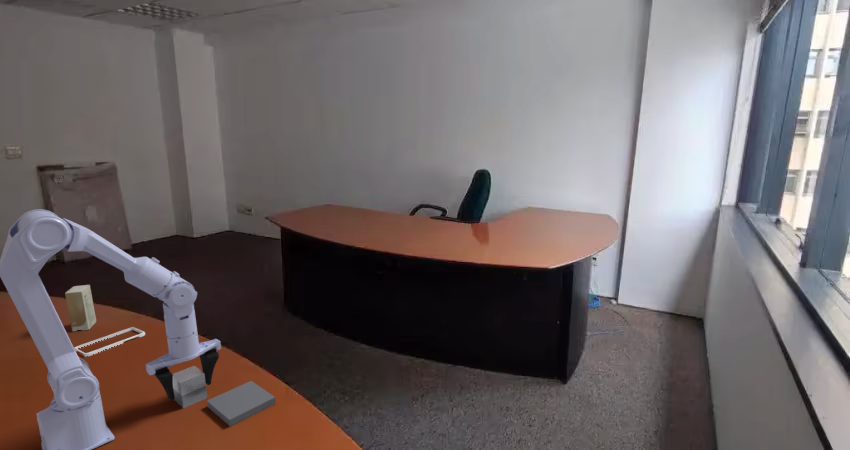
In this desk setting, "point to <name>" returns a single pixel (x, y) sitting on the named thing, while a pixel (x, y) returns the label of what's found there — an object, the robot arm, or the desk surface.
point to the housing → (189, 386)
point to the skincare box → (80, 307)
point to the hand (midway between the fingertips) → (189, 390)
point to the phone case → (111, 344)
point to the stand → (240, 403)
